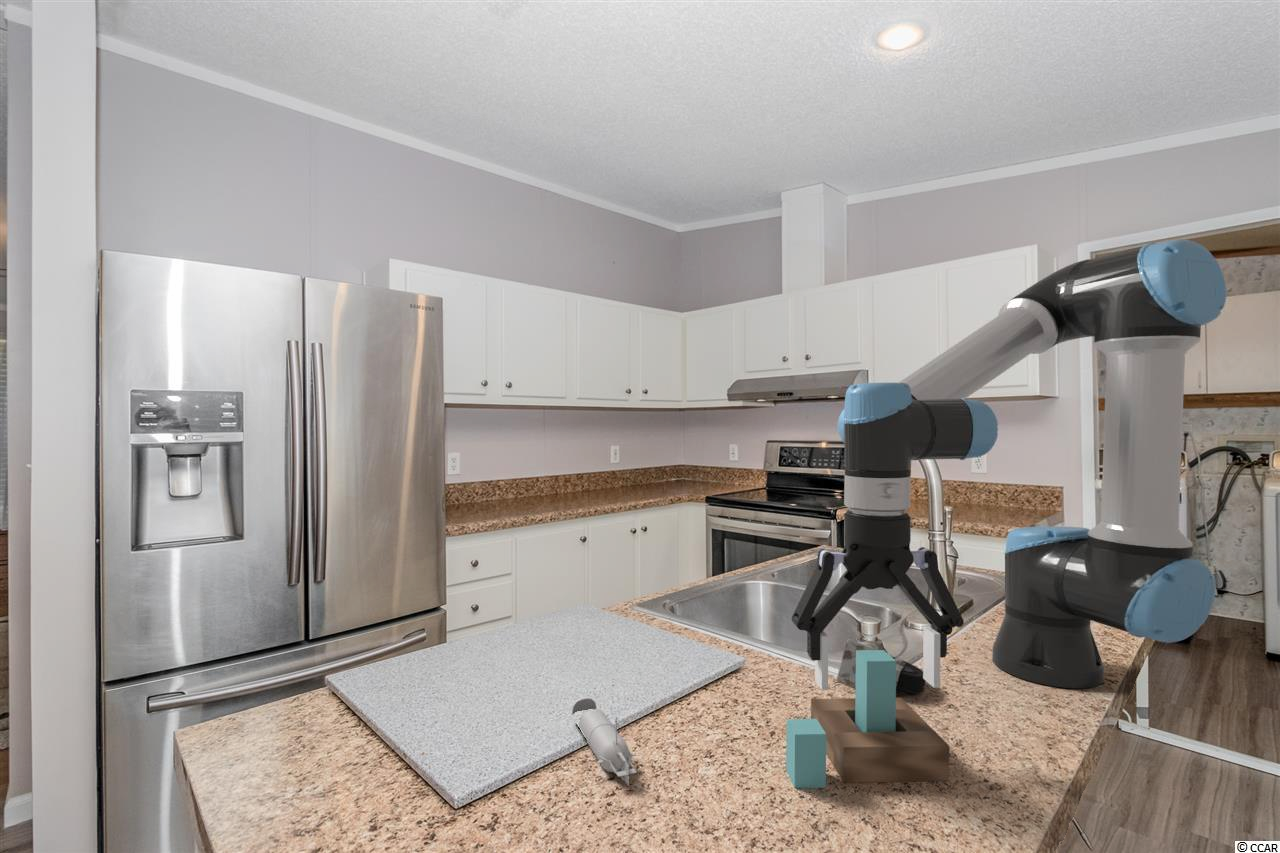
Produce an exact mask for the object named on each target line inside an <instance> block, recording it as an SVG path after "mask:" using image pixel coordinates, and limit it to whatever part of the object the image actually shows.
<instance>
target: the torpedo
mask: <svg viewBox="0 0 1280 853" xmlns="http://www.w3.org/2000/svg"><path fill="white" fill-rule="evenodd" d="M588 709H593V710H589V711H587V712H585V713H584V714H583V715H582V716H581V718H580V722H579V726H580V728H581V730H582V731H583V733H584V735H585V737H586V740H587V741H586V740H585V741H586V743H587V745H588V746H589V748H590V749H591V751H592V752H593V754H594V756H595V758H596V759H597V760H598V761H597V762H596V763H597V764H598V765H600V766H602V768H603V769H604V770H605V771H607V772H608V773H613V774H616V776H617V777H620V778H621V780H622V781H623V782H625V783H626V785H627V786H628V787H629V786H630V777H629V776H630V775H632V774H637V770H636V769H635V766H634V764H633V763H632V762H631V757H636V756H637V754H636V753H633V752H632V753H631V750H629V747H628V744H627V743H626V742H625V741H624V739H623V737H622V736H621V734H619V732H618V718H619V717H618V716H615V717H614V718H615V726H614V725H613V724H612V722H611V721H610V720H609V718H608V716H606V714H605V713H604V712H603V711H602V710H601V709H598V708H597V704H596V701H595V700H593V698H591V697H586V696H585V697H580V698H578V699H576V700H575V701H574V702H573V704H572V706H571V716H572V715H573V714H574V713H575V712H577V711H582V710H588Z"/></svg>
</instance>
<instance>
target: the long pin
mask: <svg viewBox="0 0 1280 853" xmlns="http://www.w3.org/2000/svg"><path fill="white" fill-rule="evenodd" d="M890 655H891V654H889V652H888V653H886V652H885V651H884V650H856V690H855V697H854V698H855V725H856V726H857V727H858V729H859V730H860V731H861V732H895V726H896V698H897V689H896V660H894V659H893V658H892V657H891V656H890Z"/></svg>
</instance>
